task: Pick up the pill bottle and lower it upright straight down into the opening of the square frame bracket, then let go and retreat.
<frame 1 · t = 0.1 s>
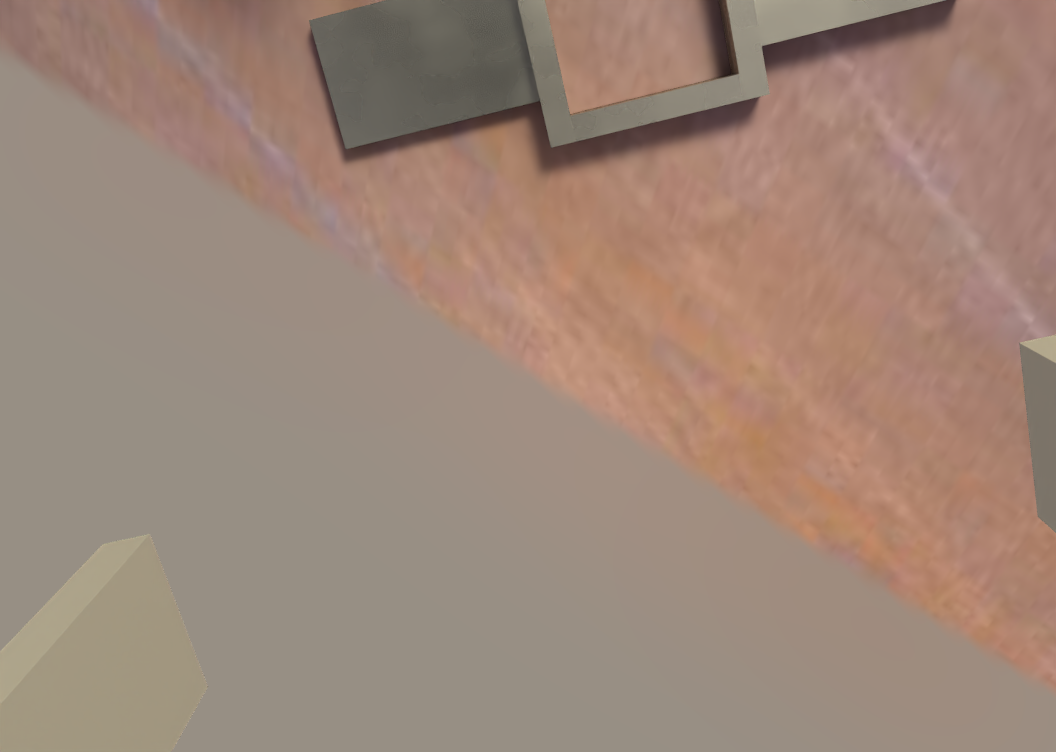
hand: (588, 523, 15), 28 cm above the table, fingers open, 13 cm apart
square frame bracket: (633, 9, 39), on the table
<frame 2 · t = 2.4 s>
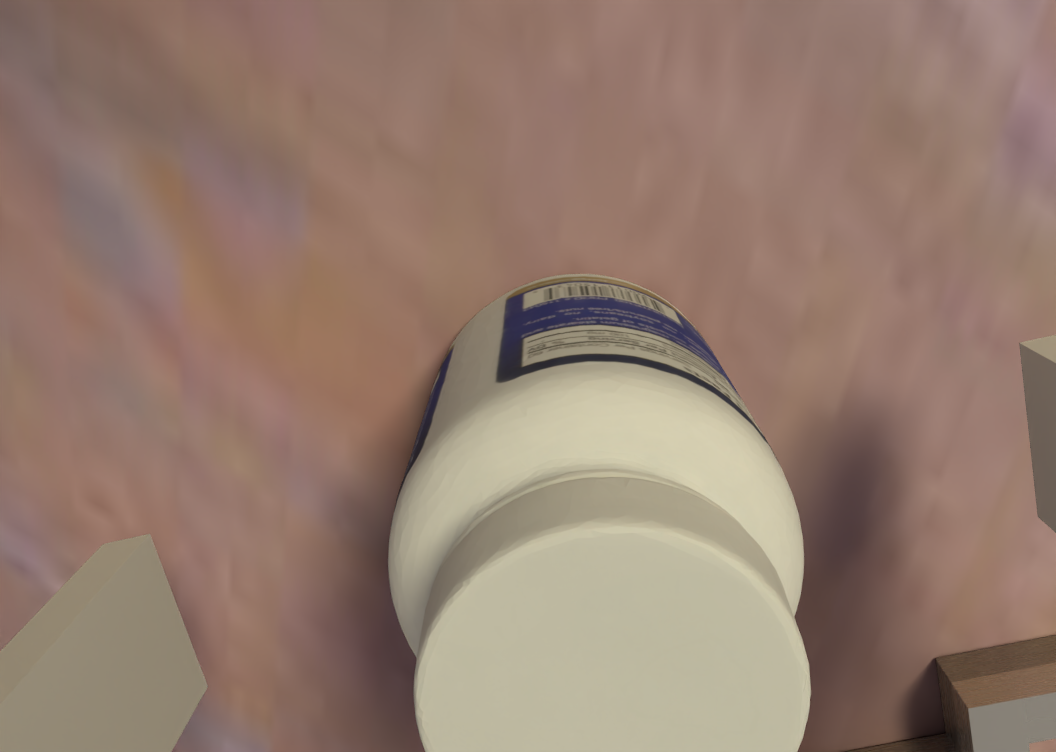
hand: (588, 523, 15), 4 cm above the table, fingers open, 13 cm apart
pill bottle: (578, 405, 18), on the table
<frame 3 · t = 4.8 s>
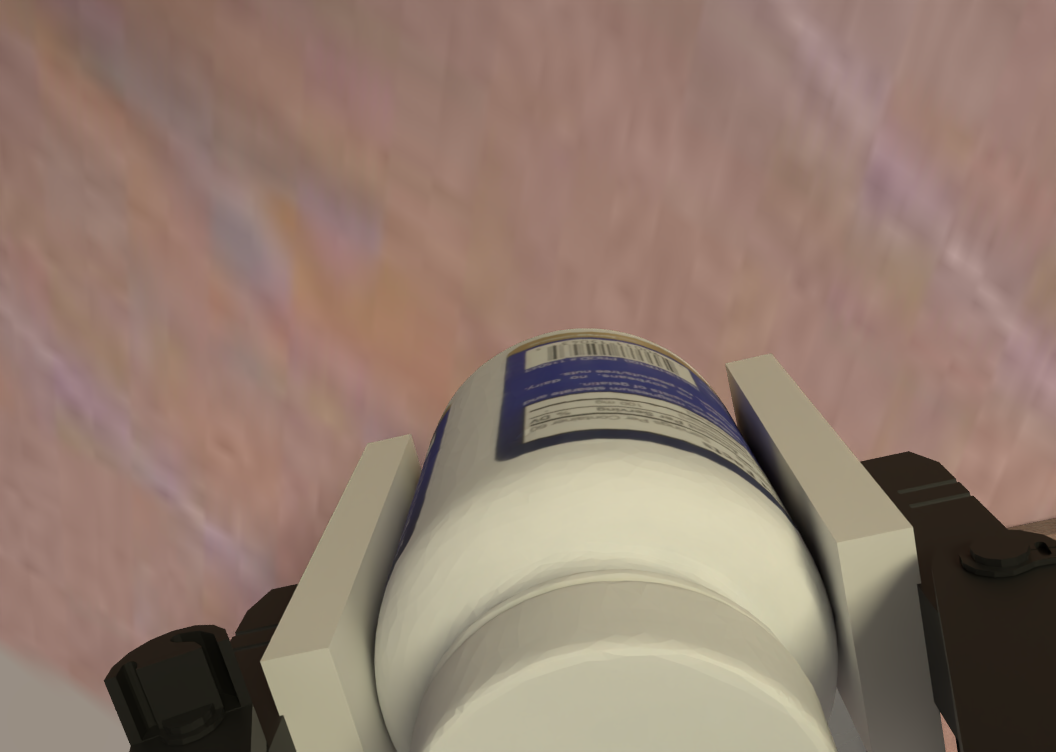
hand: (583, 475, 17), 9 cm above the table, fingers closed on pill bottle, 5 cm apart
square frame bracket: (1016, 671, 27), on the table
pill bottle: (584, 466, 17), point 8 cm above the table, touching gripper
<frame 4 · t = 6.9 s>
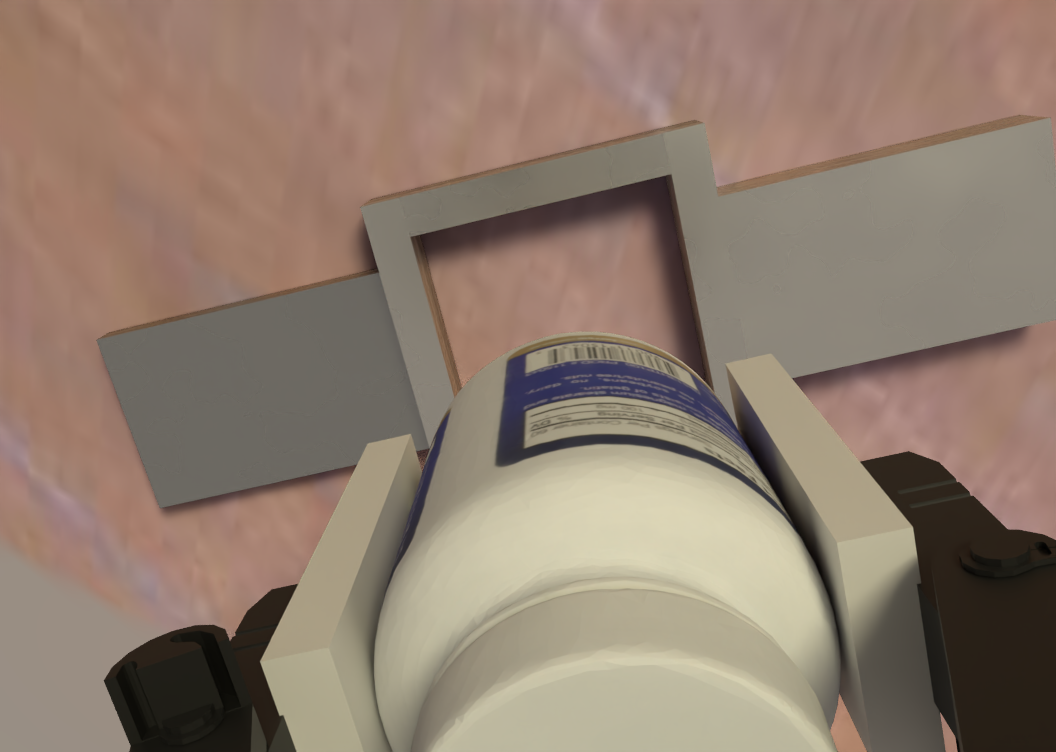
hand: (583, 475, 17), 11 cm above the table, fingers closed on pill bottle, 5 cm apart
square frame bracket: (567, 317, 27), on the table
pill bottle: (585, 470, 17), point 10 cm above the table, touching gripper
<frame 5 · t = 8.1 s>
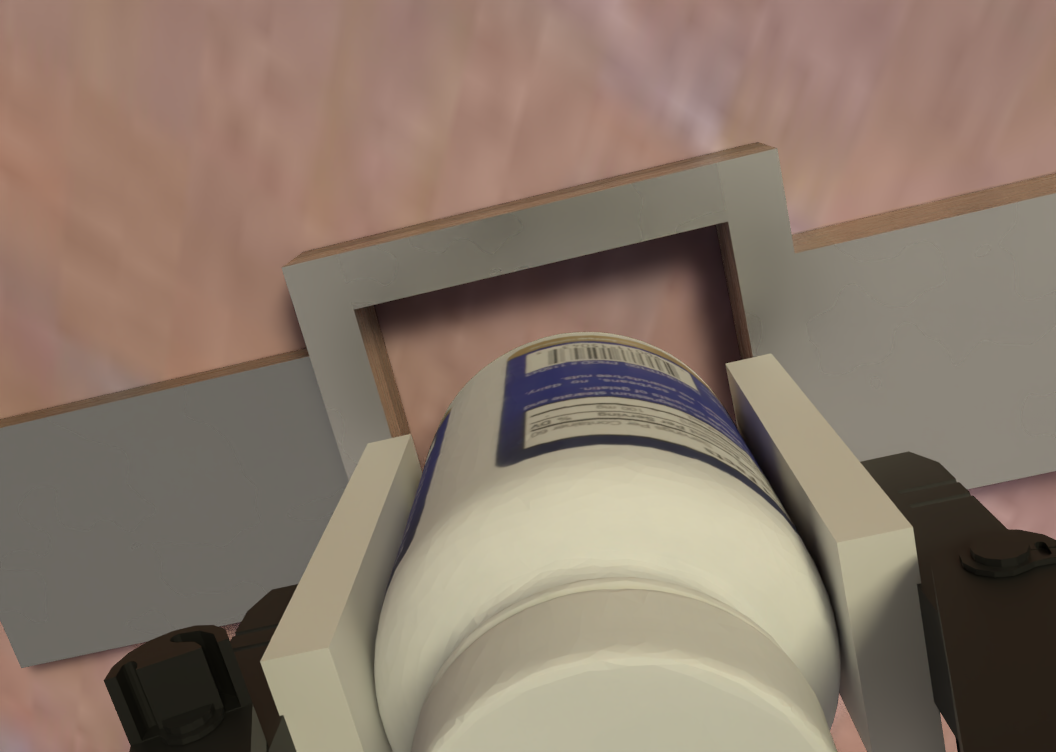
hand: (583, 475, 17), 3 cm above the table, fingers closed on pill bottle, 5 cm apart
square frame bracket: (577, 413, 20), on the table
pill bottle: (585, 470, 17), point 3 cm above the table, touching gripper
when the fingers open (2 cm above the table, at t = 9.0 s): pill bottle drops 2 cm, resting in square frame bracket.
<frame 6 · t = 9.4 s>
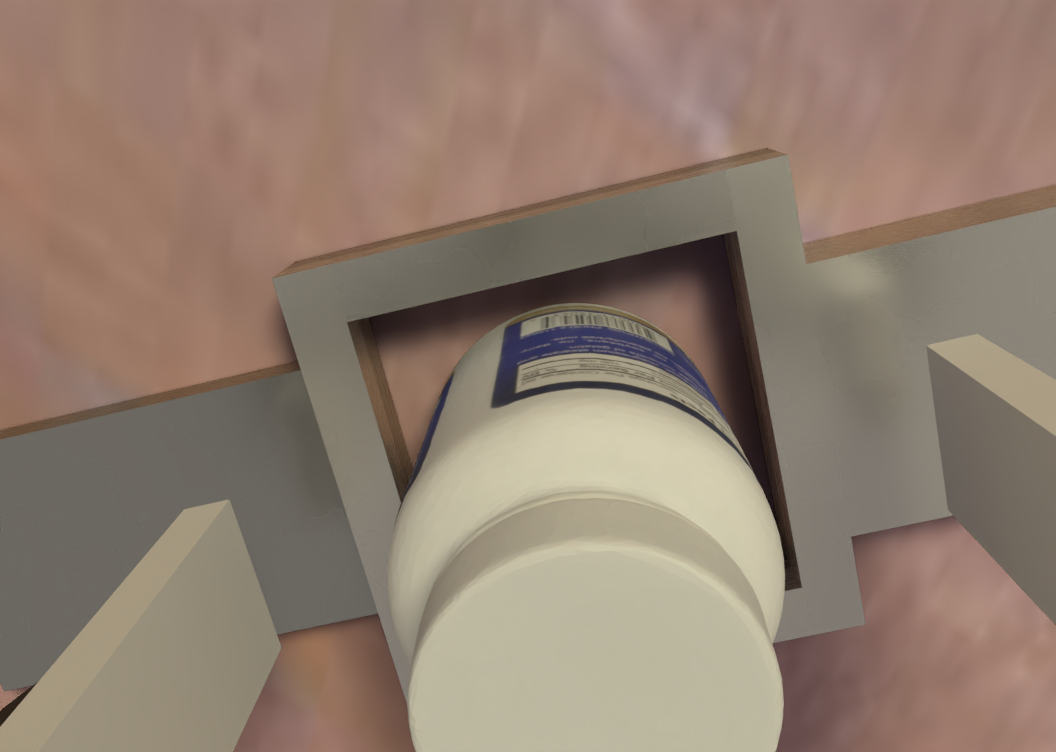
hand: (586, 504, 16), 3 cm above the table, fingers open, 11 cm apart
square frame bracket: (579, 428, 19), on the table
pill bottle: (576, 429, 19), resting in square frame bracket
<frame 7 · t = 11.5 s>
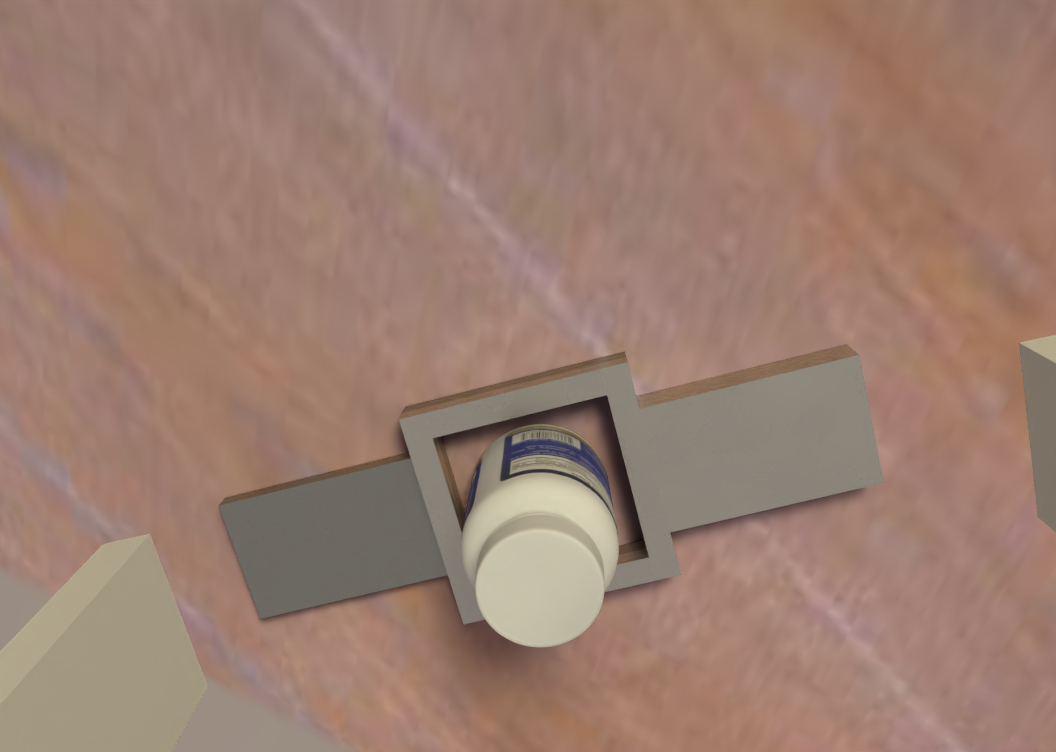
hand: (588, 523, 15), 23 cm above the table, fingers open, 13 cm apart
square frame bracket: (542, 482, 39), on the table
pill bottle: (541, 483, 39), resting in square frame bracket
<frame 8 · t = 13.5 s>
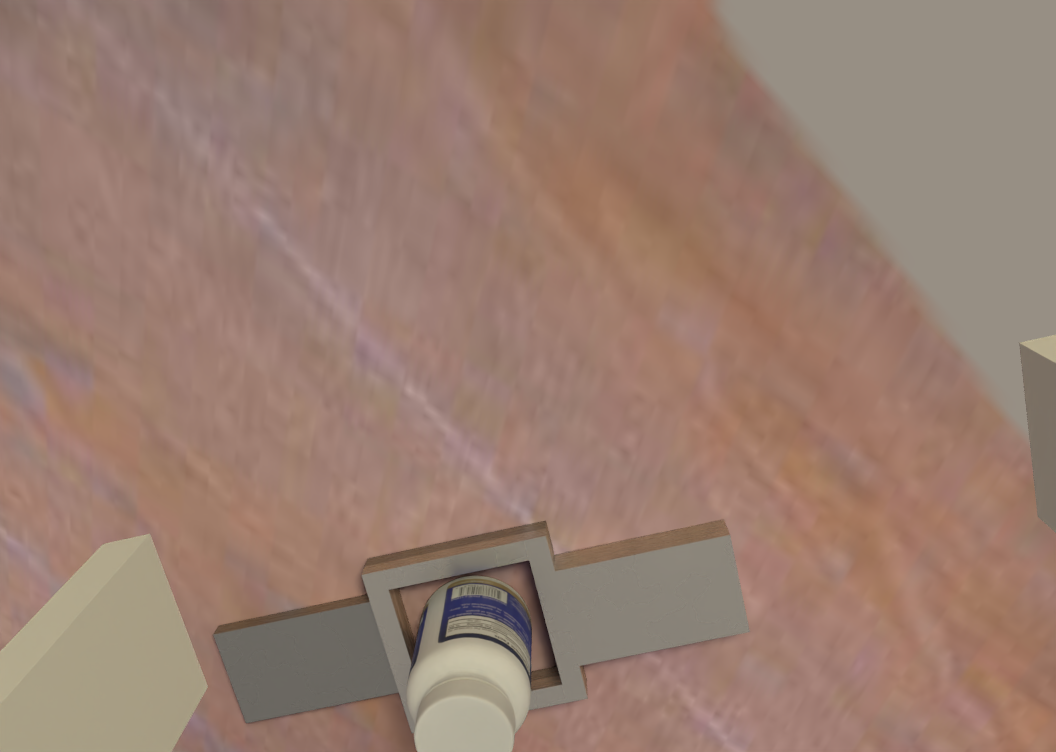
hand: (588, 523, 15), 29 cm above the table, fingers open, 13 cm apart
square frame bracket: (478, 619, 48), on the table
pill bottle: (477, 619, 48), resting in square frame bracket
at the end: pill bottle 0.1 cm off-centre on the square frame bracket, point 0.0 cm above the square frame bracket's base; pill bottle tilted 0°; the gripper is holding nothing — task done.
